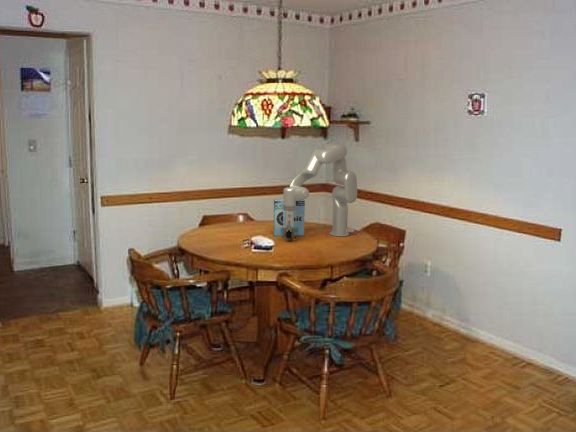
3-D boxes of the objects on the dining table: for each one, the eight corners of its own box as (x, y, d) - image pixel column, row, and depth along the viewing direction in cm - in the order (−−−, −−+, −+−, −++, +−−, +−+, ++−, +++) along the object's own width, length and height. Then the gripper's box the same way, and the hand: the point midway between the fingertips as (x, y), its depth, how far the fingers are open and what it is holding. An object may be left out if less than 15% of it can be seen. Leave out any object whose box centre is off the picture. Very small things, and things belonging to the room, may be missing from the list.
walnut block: (294, 237, 368) (294, 228, 367) (292, 240, 359) (292, 231, 358) (284, 237, 368) (284, 227, 367) (283, 240, 359) (283, 230, 358)
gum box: (303, 234, 378) (304, 199, 373) (304, 236, 373) (305, 200, 368) (273, 234, 375) (273, 199, 371) (274, 236, 370) (274, 200, 366)
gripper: (295, 210, 344) (295, 240, 347) (295, 206, 359) (294, 235, 362) (283, 210, 344) (282, 240, 347) (283, 206, 359) (282, 235, 362)
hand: (288, 237), depth 355 cm, fingers closed
